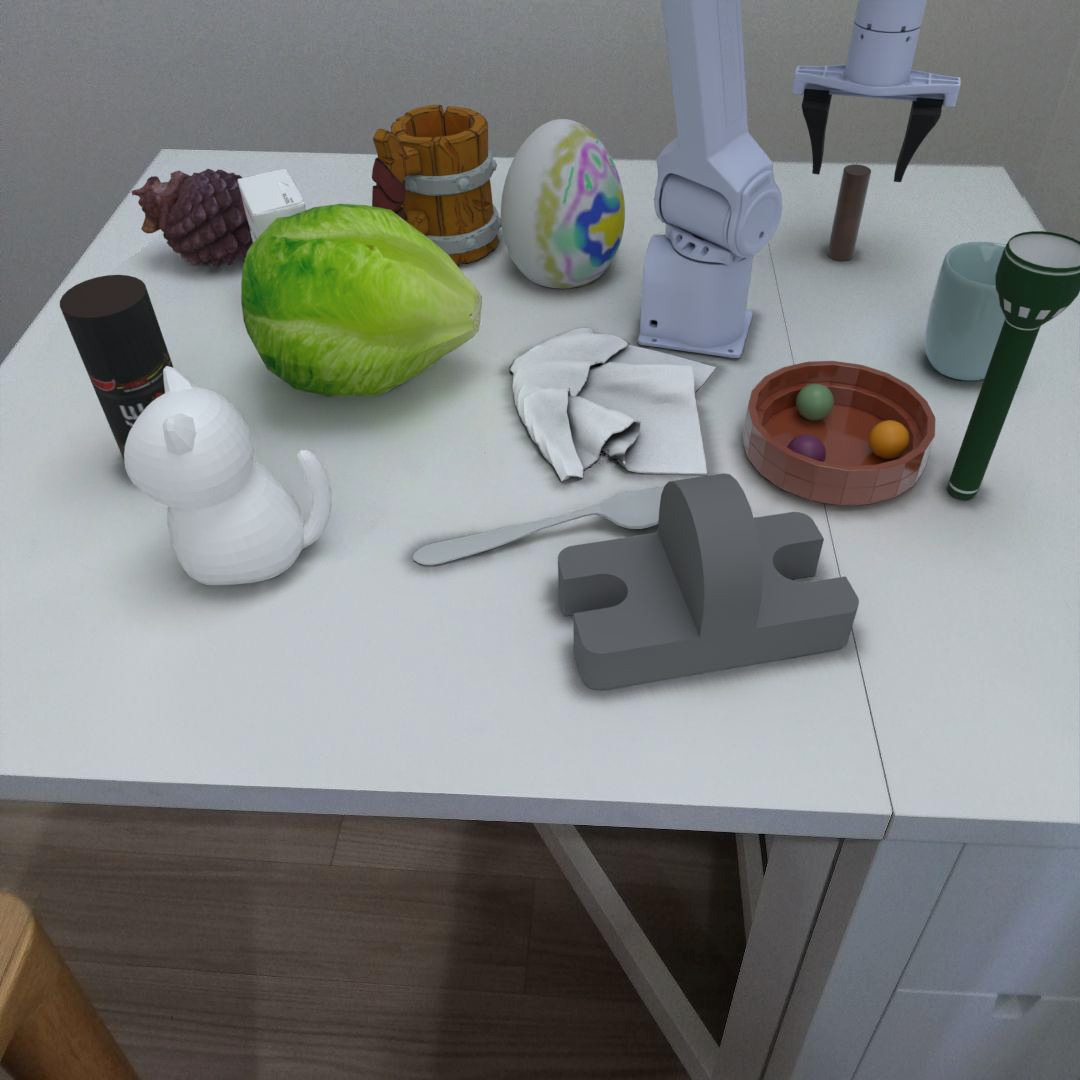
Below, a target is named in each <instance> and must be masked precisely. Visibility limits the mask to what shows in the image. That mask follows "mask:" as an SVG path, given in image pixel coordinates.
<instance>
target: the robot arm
mask: <svg viewBox="0 0 1080 1080" xmlns="http://www.w3.org/2000/svg"><path fill="white" fill-rule="evenodd" d="M660 2H661V7H662V17H663V25H664V33H665V41H666V49H667V58H668V65H669V73H670V74H669V75H670V81H671V92H672V98H673V107H674V108H673V109H674V114H675V115H674V117H675V123H676V124H675V125H676V131H677V136H676V137H674V138H673V139H672V140H671V141H670V142H669V143H668V144H666V146H664V148H663V149H662V150H661V152H660V154H659V155H658V156H657V157H656V168H657V180H656V186H655V189H654V197H653V198H654V199H653V204H654V205H653V206H654V211H655V215H656V217H657V218H658V220H659V221H660V222H661V223H663V224H665V233H662V234H661V233H660V234H659V233H658V234H653V235H652V236H651V237H650V240H649V243H648V246H647V249H646V254H645V259H644V265H643V272H642V283H641V284H642V285H641V300H640V323H639V324H640V325H639V334H638V338H637V343H638V344H639V345H641V346H645V347H646V346H648V347H654V348H660V349H666V350H667V349H668V350H675V351H681V352H688V353H696V354H703V355H710V356H716V357H724V358H731V359H740V358H741V357H742V354H743V350H744V347H745V343H746V340H747V336H748V333H749V330H750V326H751V323H752V319H753V315H754V313H753V310H751V309H748V308H747V305H748V298H749V292H750V291H749V289H750V282H751V276H752V268H753V260H754V255H757V254H758V253H759V252H760V251H762V249H764V248H765V247H766V246H767V245H768V244H769V243H770V242H771V240H772V239H773V237H774V235H775V234H776V232H777V230H778V227H779V225H780V223H781V218H782V214H783V196H782V191H781V189H780V187H779V186H778V184H777V182H776V181H775V176H774V175H775V174H774V164H773V161H772V160H771V158H770V156H768V154H766V152H765V151H764V149H763V148H762V147H761V146H760V145H759V144H758V142H757V141H756V140H755V139H754V138H753V136H752V135H751V133H750V132H749V121H748V107H747V105H748V104H747V88H746V87H747V86H746V71H745V56H744V54H745V53H744V51H745V50H744V37H743V35H744V34H743V17H742V1H741V0H661V1H660ZM927 2H928V0H857V2H856V8H855V14H854V20H853V24H852V25H853V26H852V31H851V36H850V41H849V48H848V52H847V59H846V64H836V65H835V64H834V65H796V68H795V71H794V76H793V81H792V82H793V84H792V89H791V94H792V95H797V96H803V97H802V102H801V111H802V115H803V118H804V121H805V124H806V127H807V130H808V135H809V140H810V146H811V154H812V172H811V173H812V175H820V173H821V168H822V166H823V165H822V164H823V159H824V153H825V151H824V150H825V143H826V142H825V140H826V132H827V131H826V130H827V124H828V121H829V120H828V119H829V113H830V108H831V101H832V97H833V96H844V97H856V98H857V97H858V98H870V99H883V100H895V101H896V100H897V101H909V102H911V107H910V110H909V111H910V112H909V115H908V119H907V120H908V121H907V125H906V130H905V134H904V138H903V142H902V145H901V148H900V151H899V154H898V156H897V157H898V158H897V161H896V165H895V170H894V175H893V182H894V183H902V182H903V178H904V175H905V173H906V170H907V168H908V166H909V164H910V162H911V160H912V158H913V157H914V155H915V154H916V152H917V150H918V149H919V147H920V146H921V144H922V143H923V142H924V140H925V138H926V137H927V136H928V135H929V133H931V131H932V130H933V128H934V127H935V126H936V125H937V123H938V122H939V120H940V118H941V116H942V111H943V107H947V108H949V107H950V108H952V107H953V108H955V107H956V105H957V101H958V98H959V93H960V91H961V85H962V84H961V83H962V79H961V77H960V76H959V77H958V76H949V75H942V74H937V73H932V72H926V71H922V70H916V69H912V68H913V64H914V60H915V59H914V58H915V55H916V52H917V51H916V50H917V46H918V42H919V37H920V32H921V27H922V24H923V21H924V16H925V11H926V6H927Z"/></svg>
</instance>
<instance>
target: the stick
mask: <svg viewBox="0 0 1080 1080" xmlns="http://www.w3.org/2000/svg"><path fill="white" fill-rule="evenodd" d="M871 174H872V170H871V168H870V167H869V166H867V165H863V164H854V163H853V164H848V165H846V166H844V168H843V171H842V175H841V181H840V185H839V192H838V195H837V196H838V197H837V201H836V207H835V212H834V216H833V222H832V227H831V232H830V238H829V243H828V248H827V253H826V255H827V256H828V258H830V259H832V260H834V261H839V262H846V261H850V260H851V259H853V257H854V254H855V250H856V245H857V240H858V235H859V231H860V225H861V221H862V217H863V212H864V207H865V203H866V198H867V193H868V188H869V184H870V180H871Z"/></svg>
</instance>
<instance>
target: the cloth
mask: <svg viewBox="0 0 1080 1080" xmlns="http://www.w3.org/2000/svg"><path fill="white" fill-rule="evenodd" d="M716 368H717V367H716V366H713V365H710V364H706V363H703V362H699V361H696V360H692V359H687V358H684V357H681V356H677V355H674V354H669V353H665V352H662V351H658V350H653V349H648V348H645V347H640V346H637V345H632V344H630V343H629V342H627V341H626V340H624V339H623V338H620V337H619V336H616V335H613V334H608V333H594V331H593V329H592V328H589V327H578V328H575V329H571V330H569V331H567V332H565V333H563V334H556V335H555V336H553V337H551V338H550V339H548V340H546V341H544V342H541V343H539V344H537V345H535V346H533V347H532V348H531V349H529V350H527V351H526V352H524V353H523V354H522V355H519V356H518V357H516V358H514V359H513V361H512V362H511V364H510V366H509V367H508V371H510V372H512V373H513V376H512V377H513V378H512V393H513V399H514V406H515V408H516V411H517V412H518V416H519V418H520V421H521V423H522V424H523V426H525V428H526V430H527V434H528V435H529V437H530V439H531V441H532V442H533V443H534V444H535V445H536V446H537V447H538V449H539V451H540V453H541V455H542V457H543V458H544V459H545V460H546V461H547V462H548V463H549V465H551V466H552V467H553V468H554V470H555V472H556V475H558V477H559V479H560V482H564V481H566V480H569V479H570V478H572V477H577V478H579V479H580V478H581V479H583V478H584V470H587V469H588V468H590V467H591V466H592V465H594V463H596V462H597V461H598V460H599V458H600V454H601V451H603V452H604V453H605V454H606V455H608V456H609V458H611V459H614V460H617V461H618V464H619V465H620V466H621V467H623V468H624V469H626V470H627V471H629V472H633V473H637V474H655V475H703V476H708V470H707V462H706V461H707V460H706V456H705V450H704V444H703V437H702V432H701V431H702V430H701V426H700V417H699V413H698V409H697V401H696V395H695V394H696V393H697V391H699V390H700V389H701V388H702V387H703V385H704V384H705V383H706V382H707V381H708V379H709V378H710V377H711V375H712V374H713V373H714V371H716Z"/></svg>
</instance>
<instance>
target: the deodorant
mask: <svg viewBox="0 0 1080 1080" xmlns="http://www.w3.org/2000/svg"><path fill="white" fill-rule="evenodd" d="M59 308H60V310H61V313H62V315H63V318H64V320H65V322H66V325H67V327H68V330H69V332H70V335H71V337H72V339H73V342H74V345H75V346H76V349H77V351H78V354H79V357H80V359H81V361H82V363H83V365H84V368H85V371H86V374H87V375H88V378H89V380H90V383H91V385H92V388H93V390H94V392H95V394H96V397H97V399H98V402H99V405H100V406H101V409H102V411H103V414H104V416H105V419H106V421H107V423H108V425H109V428H110V431H111V433H112V435H113V438H114V440H115V442H116V445H117V447H118V449H119V452H120V454H121V457H122V459H123V460H124V451H125V444H126V440H127V437H128V435H129V432H130V430H131V428H132V427H133V425H134V423H135V421H136V420H137V418H138V417H139V416H140V414H141V413H142V412H143V411H144V409H145V408H146V407H147V406H148V405H149V404H150V403H151V402H152V401H154V400H155V399H156V398H158V397H160V396H161V395H163V394H165V387H164V376H163V370H164V368H165V367H166V366H169V367H172V368H174V369H175V367H174V365H173V361H172V359H171V356H170V352H169V350H168V347H167V343H166V341H165V338H164V336H163V332H162V330H161V326H160V324H159V320H158V318H157V315H156V312H155V309H154V306H153V303H152V300H151V297H150V294H149V292H148V289H147V285H146V284H145V283H144V281H143V280H141V279H140V278H138V277H136V276H131V275H126V274H107V275H102V276H97V277H92V278H90V279H86V280H84V281H82V282H79V283H77V284H75V285H74V286H72V287H70V288H69V289H67V290H66V292H64V293H63V294H62V296H61V298H60V300H59Z"/></svg>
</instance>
